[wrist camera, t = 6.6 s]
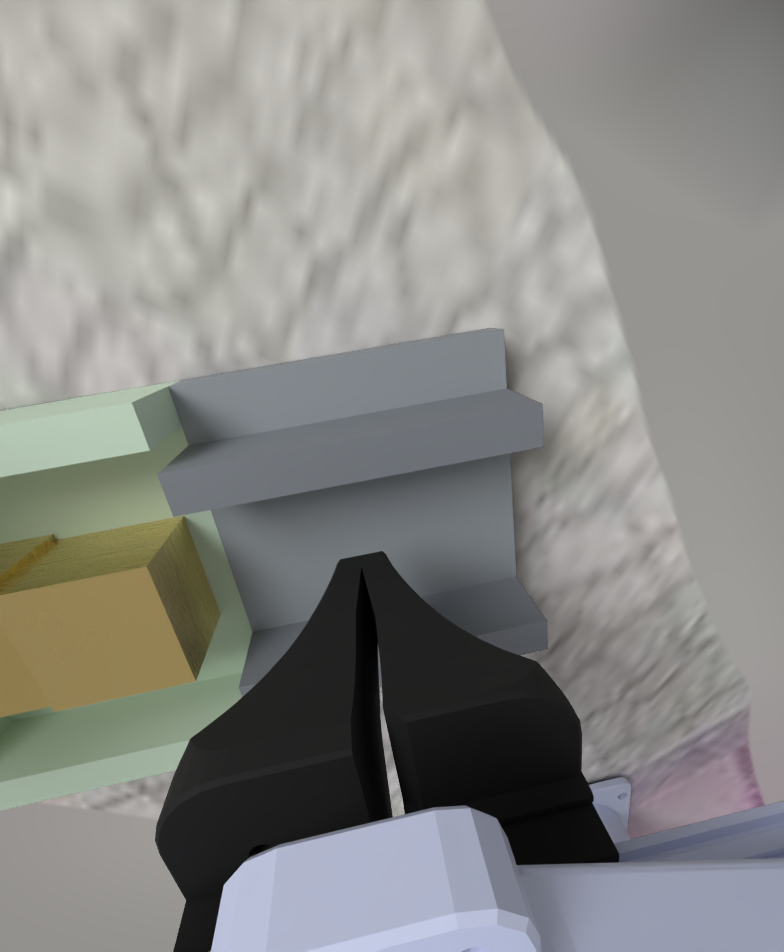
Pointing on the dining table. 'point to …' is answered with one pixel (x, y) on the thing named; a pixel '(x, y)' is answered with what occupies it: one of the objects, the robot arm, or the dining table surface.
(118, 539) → the chip
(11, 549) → the chip
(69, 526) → the green and grey tray
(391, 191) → the dining table surface
